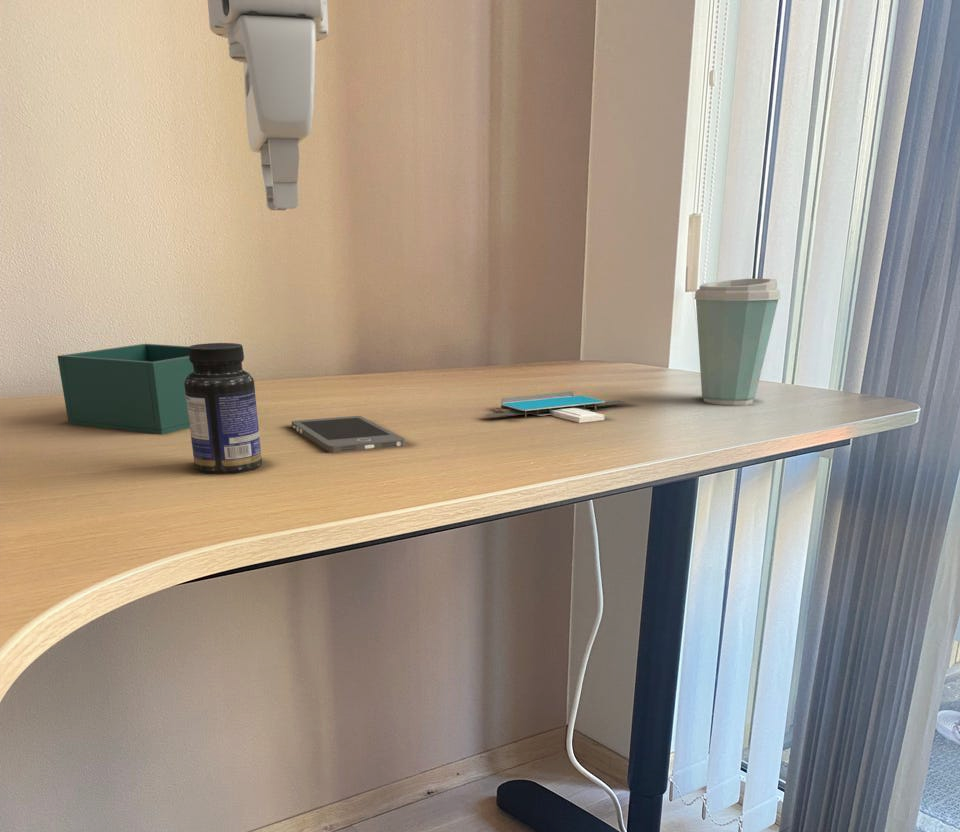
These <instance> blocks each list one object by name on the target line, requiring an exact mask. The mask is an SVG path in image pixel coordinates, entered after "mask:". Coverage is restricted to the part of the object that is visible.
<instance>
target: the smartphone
mask: <svg viewBox="0 0 960 832" xmlns="http://www.w3.org/2000/svg"><path fill="white" fill-rule="evenodd" d="M291 429H293V430H295V431H296V432H297V433H299V434H300V435H302V436H303V437H305V438H307V439H308V440H309V441H311V442H313V443H314V444H316V445H317V446H318V447H320V448H322V449H323V450H324V451H326V452H328V453H330V454H335V453H347V452H357V451H368V450H369V451H370V450H379V449H390V448H402V447H406V438H404V437H402V436H400V435H399V434H397V433H395V432H393V431H391V430H389V429H386V428H384V427H383V426H381V425H379V424H377V423H376V422H373V421H371V420H369V419H367V418H365V417H363V416H361V415H349V416H336V417H324V418H312V419H298V420H292V421H291Z"/></svg>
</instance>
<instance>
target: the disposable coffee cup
mask: <svg viewBox="0 0 960 832" xmlns="http://www.w3.org/2000/svg"><path fill="white" fill-rule="evenodd" d="M693 299H694V300H695V309H696V322H697V325H696V326H697V340H698V353H699V354H698V355H699V372H700V386H701V397H703V402H705V403H707V404H713V405H720V406H747V405H751V404H753V401H754V399H755V398H756V395H757V391H758V387H759V383H760V378H761V375H762V370H763V366H764V361H765V357H766V353H767V349H768V344H769V341H770V336H771V333H772V328H773V324H774V321H775V320H774V319H775V316H776V311H777V307H778V302H779V300H781V290H780V289H779V288H778V279H777V278H741V279H739V278H738V279H729V280H721V281H713V282H708V283H702V284H700V285H699V288H698V289H696V290H695V292H694V298H693Z"/></svg>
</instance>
